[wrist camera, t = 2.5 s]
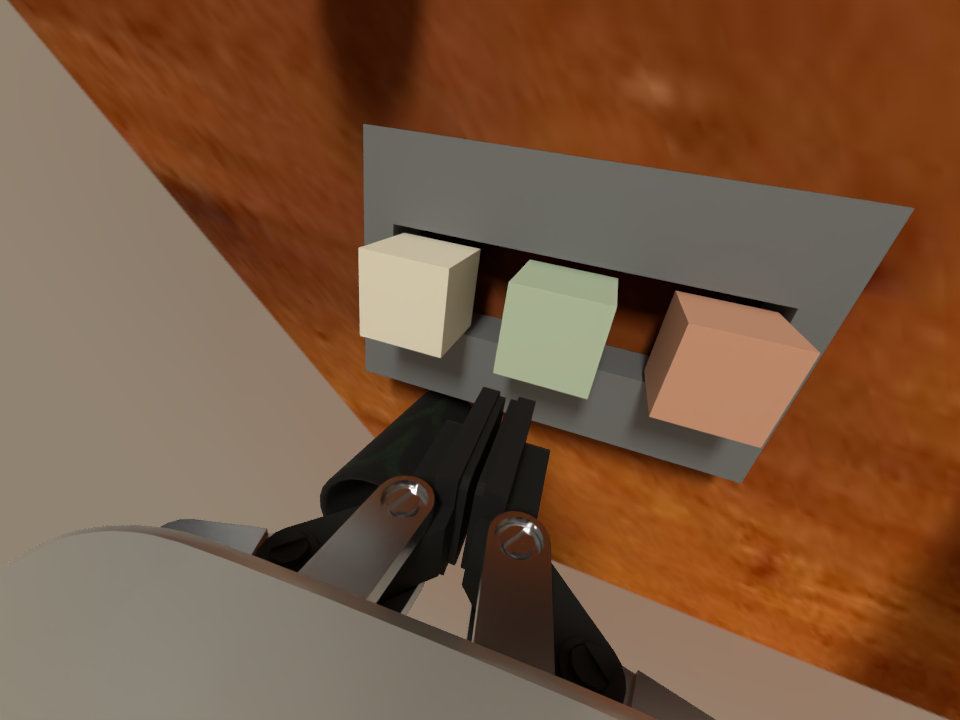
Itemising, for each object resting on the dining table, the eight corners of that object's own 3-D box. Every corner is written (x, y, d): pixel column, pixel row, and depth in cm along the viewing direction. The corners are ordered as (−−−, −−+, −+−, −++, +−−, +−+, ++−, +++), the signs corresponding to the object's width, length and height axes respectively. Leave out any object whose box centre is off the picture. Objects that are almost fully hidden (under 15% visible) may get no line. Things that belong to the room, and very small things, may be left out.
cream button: (480, 248, 23) (449, 268, 19) (470, 325, 26) (440, 358, 22) (404, 232, 24) (358, 247, 20) (401, 308, 27) (359, 335, 23)
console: (864, 200, 20) (914, 208, 16) (726, 443, 28) (741, 483, 24) (398, 128, 25) (363, 123, 22) (392, 348, 33) (365, 370, 30)
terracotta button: (778, 312, 20) (820, 353, 16) (735, 393, 22) (761, 448, 18) (675, 290, 21) (688, 323, 17) (644, 370, 23) (648, 416, 19)
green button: (618, 278, 22) (617, 306, 17) (593, 357, 24) (587, 399, 20) (529, 259, 23) (508, 282, 18) (514, 337, 25) (493, 373, 21)
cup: (452, 362, 32) (372, 458, 22) (506, 434, 33) (455, 556, 23) (391, 400, 36) (297, 496, 25) (441, 463, 37) (373, 578, 27)
